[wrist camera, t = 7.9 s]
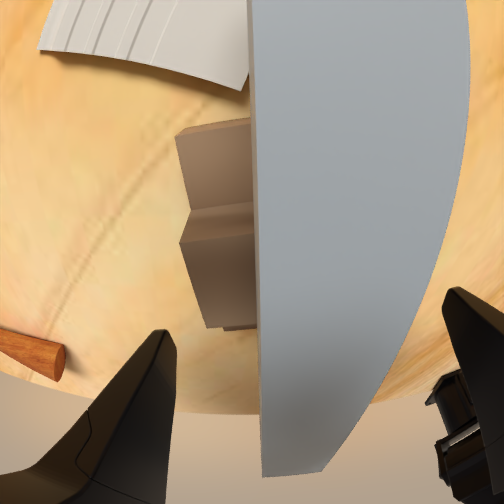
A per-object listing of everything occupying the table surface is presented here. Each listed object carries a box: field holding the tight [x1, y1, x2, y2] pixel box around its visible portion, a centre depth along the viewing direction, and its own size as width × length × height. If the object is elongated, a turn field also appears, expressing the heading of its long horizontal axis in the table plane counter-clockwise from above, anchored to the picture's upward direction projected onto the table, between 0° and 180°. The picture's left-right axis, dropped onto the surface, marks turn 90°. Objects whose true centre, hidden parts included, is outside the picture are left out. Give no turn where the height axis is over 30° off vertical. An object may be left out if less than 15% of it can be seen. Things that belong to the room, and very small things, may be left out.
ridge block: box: [175, 118, 257, 331], centre depth 12 cm, size 10×8×4 cm
